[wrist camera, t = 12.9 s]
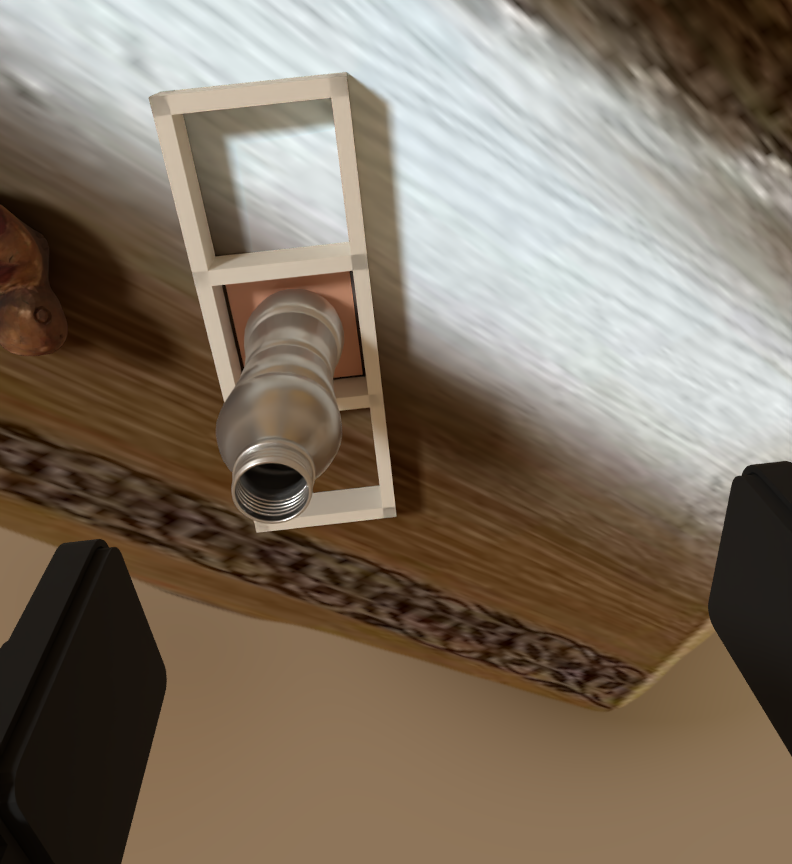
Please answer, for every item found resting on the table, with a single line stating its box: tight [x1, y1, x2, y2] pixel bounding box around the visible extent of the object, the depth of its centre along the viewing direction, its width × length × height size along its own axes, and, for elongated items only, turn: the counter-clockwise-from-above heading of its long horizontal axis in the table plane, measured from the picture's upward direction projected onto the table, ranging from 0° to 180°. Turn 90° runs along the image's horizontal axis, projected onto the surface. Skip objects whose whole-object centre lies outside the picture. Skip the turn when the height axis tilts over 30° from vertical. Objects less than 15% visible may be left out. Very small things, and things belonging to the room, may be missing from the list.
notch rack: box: [149, 72, 397, 532], centre depth 48 cm, size 31×11×3 cm, turn 5°
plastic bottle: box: [216, 289, 344, 524], centre depth 40 cm, size 6×7×20 cm
